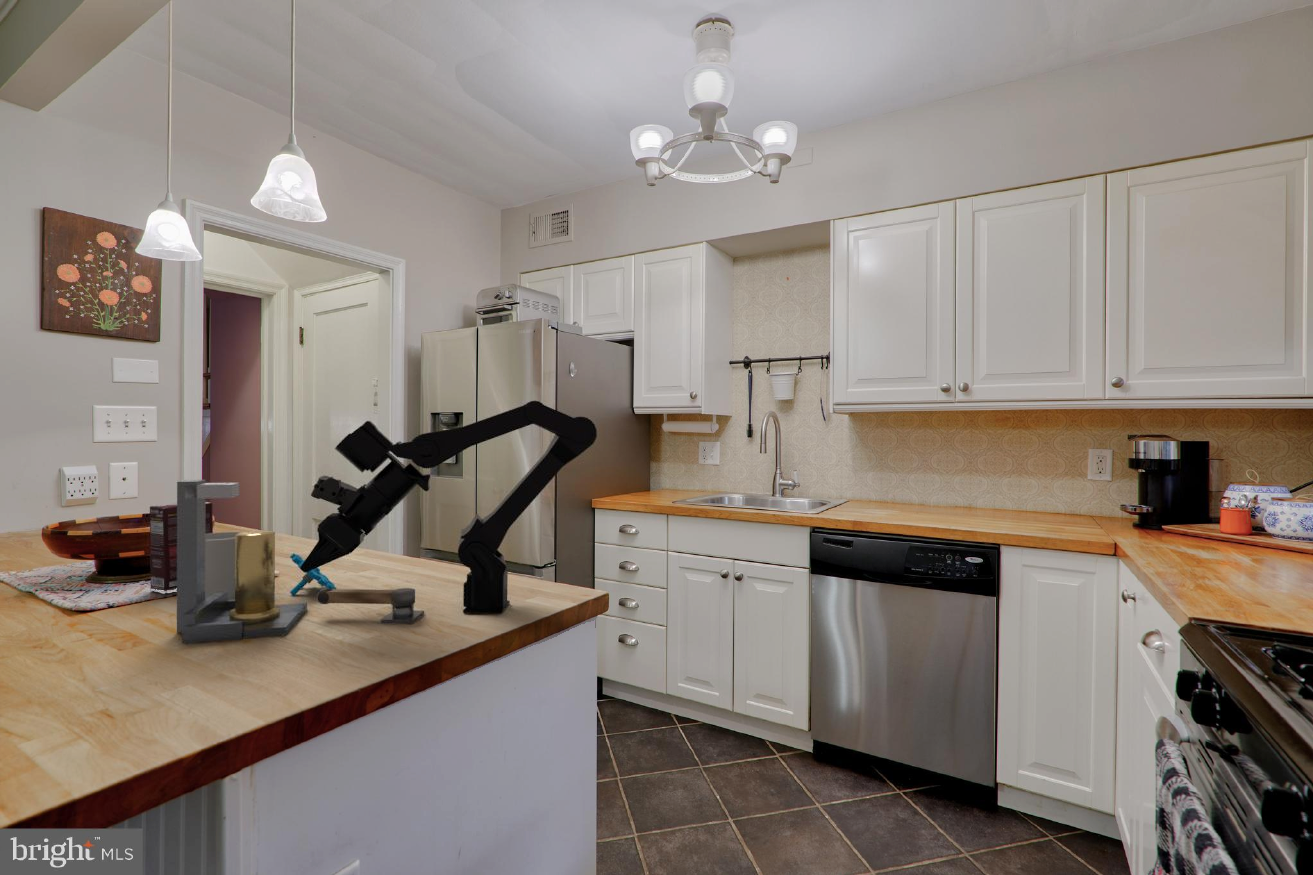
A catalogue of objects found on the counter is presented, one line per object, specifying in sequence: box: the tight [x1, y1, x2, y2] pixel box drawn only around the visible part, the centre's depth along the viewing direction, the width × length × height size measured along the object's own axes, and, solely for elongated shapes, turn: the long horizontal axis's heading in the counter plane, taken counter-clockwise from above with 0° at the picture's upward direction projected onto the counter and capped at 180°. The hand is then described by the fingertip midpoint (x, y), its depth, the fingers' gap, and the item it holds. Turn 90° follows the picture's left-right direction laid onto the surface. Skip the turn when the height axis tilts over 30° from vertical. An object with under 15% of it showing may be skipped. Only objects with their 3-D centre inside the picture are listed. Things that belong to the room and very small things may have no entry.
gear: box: [289, 553, 338, 596], centre depth 115 cm, size 11×6×10 cm
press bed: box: [176, 479, 308, 644], centre depth 96 cm, size 16×14×22 cm
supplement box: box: [149, 501, 214, 591], centre depth 116 cm, size 9×5×16 cm, turn 157°
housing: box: [229, 530, 280, 624], centre depth 96 cm, size 7×7×13 cm
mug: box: [205, 531, 243, 600], centre depth 113 cm, size 12×8×11 cm
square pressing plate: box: [380, 603, 425, 625], centre depth 101 cm, size 5×5×2 cm
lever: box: [316, 587, 416, 607], centre depth 101 cm, size 16×4×3 cm, turn 90°
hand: (309, 564), depth 99 cm, fingers open, 9 cm apart
